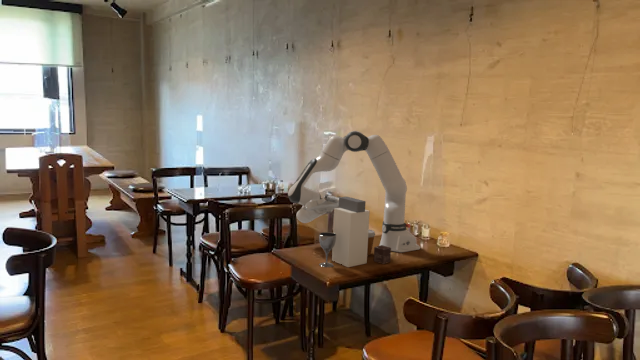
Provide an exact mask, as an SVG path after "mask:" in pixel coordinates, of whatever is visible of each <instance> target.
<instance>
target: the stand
mask: <svg viewBox="0 0 640 360" xmlns="http://www.w3.org/2000/svg"><path fill="white" fill-rule="evenodd" d="M338 197H339V196H338ZM366 202H367V201H366V200H361V199H359V198H355V197H350V196H342V197H341V196H340V197H339V207H337V208H334V209H333V230H332V231H333V232H332V233H335V234H336V242H335V245H334V247H333V248H332V249H331V251H332V252H331V255H332V256H331V261H333V262H334V261H335V262H334V263H337V264H339V265H341V264H342V265H341V266H344V267H346V268H350V267H356V266H360V265H364V264H367V260H368V255H367V248H368V231H369V230H370V229H369V228H370V210H368V209H366Z"/></svg>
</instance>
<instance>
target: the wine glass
mask: <svg viewBox="0 0 640 360" xmlns="http://www.w3.org/2000/svg"><path fill="white" fill-rule="evenodd" d="M318 237H319V245H320V247H321V248H322V249H323V251H324V253H325V262H320V263H319V264H318V265H319V266H320V267H323V268H333V267H334V266H335V264H334V263H331V262H328V260H329V259H328V257H329V253H330V251H332V248H333V247H334V245H335V242H336V234H335V233H333V232H330V231H325V232H324V231H323V232H319V235H318ZM333 264H334V265H333Z"/></svg>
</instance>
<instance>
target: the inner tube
mask: <svg viewBox="0 0 640 360" xmlns="http://www.w3.org/2000/svg"><path fill="white" fill-rule="evenodd" d="M324 198H326V200H327V201H329V202H332V203H336V204H339V196H335V195H330V194H326V195H325V197H324Z"/></svg>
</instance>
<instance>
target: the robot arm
mask: <svg viewBox="0 0 640 360" xmlns="http://www.w3.org/2000/svg"><path fill="white" fill-rule="evenodd" d="M321 150H322V151H321V152H320V153H319V155H318V156H316V158H312V159H311V160H310V161H309V162H308V163H307V165H306V166H305V167H304V169H303V170H302V172H301V173H300V174H299V176H298V177H297V179H296V180H295V181H294V182H293V184H292V185H291V186H290V187H289V189H288V191H287V197H288V199H289V201H290V202H291V203H294V204H298V205H301V206H302V207H301V208H300V209H299V210H298V211H297V212H296V218H297V220H298V221H299V222H301V223H302V224H308V223H310V222H313V221H314V220H315V219H317V218H319V217H321V216H323V215H326V214H330V213H332V212H334V208H339V204H336V203H332V202H329V201H327V200H326V198H325V197H322V195H321V194H320V192H319V191H318V190H315V189H312V188H309V187H305V185H306V184H307V182H308V181H309V179H310V178H311V176H312V175H313V174H315V173H323V172H332V171H334V170H335V169H336V168H337V167H338V166H339V163H341V159H342V157H343V155H344V154H345V153H346V152H347V151H351V152H354V153H357V152H358V153H359V152H362V151H364V152H365V153H366V155H368V157H369V161H370V162H371V164H372V165H373V168H374V169H375V172H376V173H377V175H378V178H379V180H380V183H381V184H382V187H383V189H384V191H385V192H384V194H385V195H384V209H383V210H384V211H383V221H382V225H381V226H382V227H381V231H382V233H381V237H380V238H381V239H380V242H379V245H378V246H380V245H383V246H386V247H390V248H391V252H397V253H406V252H411V251H416V250H420V249H421V246H420V245H419V244H417V239H416V236H415V235H414V234H412V233H411V231H409V230H408V229H410V228H411V224H410V223H406V222H405V217H406V216H405V215H406V195H407V190H408V187H407V182H406V180H405V178H404V177H403V175H402V174H401V172H400V169H399V167H398V165H397V163H396V161H395V159H394V157H393V155H392V154H391V152H390V149H389V147H388V146H387V144H386V142H385V141H384V139H383V138H382V137H381V136H380V135H379V134H371V135H369V136H366V135H364V133H362V131H358V130H352V131H350V132H348V133H346V135H344V136H343V137H342V136H340V135H332V136H331V137H330V138H329V139H328V140H327V142H326V143H325V145H324V147H323V149H321ZM338 197H341V196H338ZM407 228H408V229H407Z"/></svg>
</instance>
